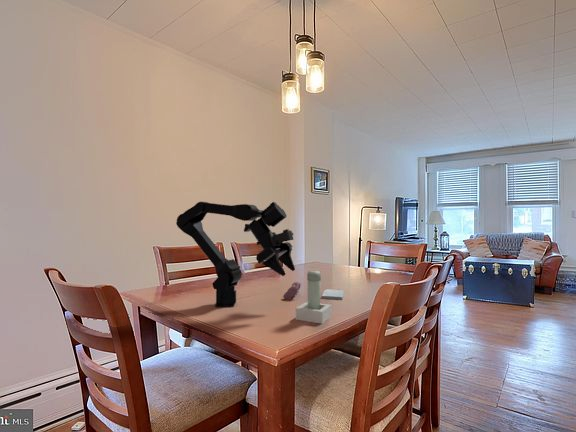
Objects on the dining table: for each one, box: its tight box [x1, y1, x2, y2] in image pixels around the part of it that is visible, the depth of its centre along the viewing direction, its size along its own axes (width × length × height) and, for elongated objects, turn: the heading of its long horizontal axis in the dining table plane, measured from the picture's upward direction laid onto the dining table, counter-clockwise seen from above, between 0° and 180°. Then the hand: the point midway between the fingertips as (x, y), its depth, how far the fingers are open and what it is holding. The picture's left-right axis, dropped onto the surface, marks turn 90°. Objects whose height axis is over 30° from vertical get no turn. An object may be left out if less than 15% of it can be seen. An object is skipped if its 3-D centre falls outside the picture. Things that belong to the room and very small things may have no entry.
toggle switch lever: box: [306, 270, 322, 310], centre depth 101 cm, size 4×4×13 cm
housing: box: [295, 301, 333, 325], centre depth 101 cm, size 9×9×4 cm
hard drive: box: [320, 288, 345, 301], centre depth 130 cm, size 2×8×12 cm
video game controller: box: [283, 281, 302, 300], centre depth 128 cm, size 10×5×7 cm, turn 169°
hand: (289, 272), depth 108 cm, fingers open, 9 cm apart
